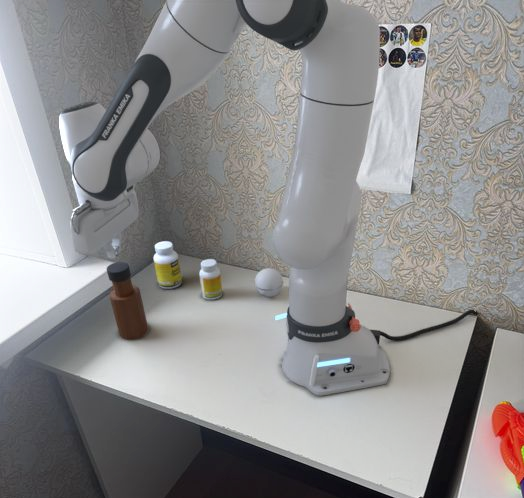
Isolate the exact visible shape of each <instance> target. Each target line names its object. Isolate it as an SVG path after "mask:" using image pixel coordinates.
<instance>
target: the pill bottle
mask: <svg viewBox="0 0 524 498" xmlns="http://www.w3.org/2000/svg"><path fill="white" fill-rule="evenodd" d="M154 251H155V253H154V255H153V265H154V269H155V275H156V280H157V283H158V286H159V287H160V288H161V289H164V290H165V289H166V290H170V289H171V290H172V289H176V288H177V287H180V286H181V284H182V281H183V279H182V278H183V277H182V272H181V266H180V261H179V260H180V259H179V255H178V253H177V251H175V250H174V244H173V242H171V241H168V240H163V241H159V242H156V243H155V245H154Z"/></svg>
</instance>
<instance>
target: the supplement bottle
mask: <svg viewBox="0 0 524 498" xmlns="http://www.w3.org/2000/svg"><path fill="white" fill-rule="evenodd" d="M198 274H199V283H200V290H201V297H202V298H203V299H205V300H208V301H214V300H218V299H220V298H221V297H222V295H223V285H222V276H221V274H222V273H221V270H220V268H219V267H218V262H217V260H215V259H214V258H207V259H204V260H202V261H201V262H200V270H199V273H198Z"/></svg>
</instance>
